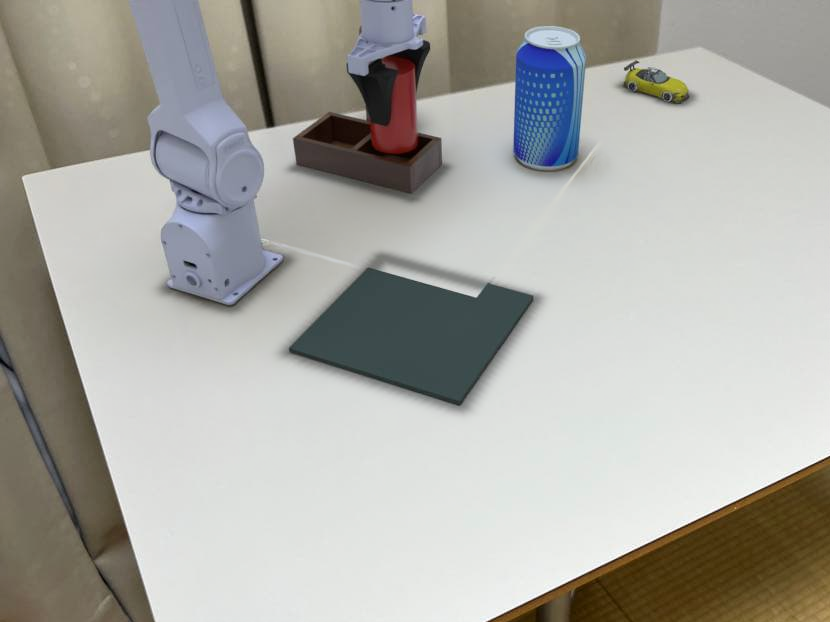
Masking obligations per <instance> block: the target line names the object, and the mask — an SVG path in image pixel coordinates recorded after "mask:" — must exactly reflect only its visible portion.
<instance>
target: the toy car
mask: <svg viewBox="0 0 830 622" xmlns="http://www.w3.org/2000/svg"><path fill="white" fill-rule="evenodd" d="M637 64H640V61H639V60H634V61H632V62H630V63H629V64H627V65H626V66H624V67H623V71H625V72H626V71H627V73H626V75H625V78H624V79H625V80H624V81H623V85H622V86H624V87H626V88H628V90H629V91H630V92H636V91H638V92H641V93H645V94H648V95H651V96H655V97H656V98H657V97H658V98H659V99H662V100H663V101H664V102H667V103H669V102H672V103H674V104H680V103H683V102H684V101H686V100H687V99H688V98H690V94H689V88H688V86H687V85H686V84H685V82H684V81H682V80H680V79H678V78H675V77H672V76H668V74H667V73H666V72H664V71H663V70H661V69H658V68H656V67H649V66H648V67H647V68H637V67H635V65H637Z"/></svg>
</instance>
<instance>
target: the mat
mask: <svg viewBox="0 0 830 622" xmlns="http://www.w3.org/2000/svg"><path fill="white" fill-rule="evenodd" d="M533 301H534V295H533V294H529V293H525V292H523V291H522V292H521V291H519V290H515V289H511V288H507V287H504V286H500V285H497V284H493V283H490V282H489V283H488V282H487V283H486V285H485V286H484V287H483V288H482V290H481V291H480V292H479V294H478V295H477V296H473V295H468V294H465V293H462V292H458V291H454V290H451V289H447V288H444V287H440V286H436V285H433V284H429V283H426V282H422V281H418V280H415V279H412V278H407V277H404V276H400V275H397V274H393V273H389V272H386V271H382V270H379V269H376V268H372V267H367V268H366V269H365V270H363V272H362V273H361V274H360V275H359V276H358V277H356V279H354V281H353V282H352V283H351V284H350V285H349V286H348V287H347V288H346V289H345V290H344V291H343V292H342V293H341V294H340V295H339V296H338V297H336V299H335V300H334V301H333V302H332V303H331V304H330V305H329V306H328V307H327V308H326V309H325V310H324V311H323V312H322V313H321V314H320V315H319V316H318V317H317V318H316V319H315V320H314V321H313V323H311V325H310V326H309V327H308V328H307V329H306V330H304V331H303V332H302V334H301V335H300V336H299V337H297V339H295V340H294V342H293V343H292V344H291V345H290V346H289V347H288V352H289V353H291V354H295V355H299V356H301V357H305V358H309V359H310V360H315V361H318V362H320V363H324V364H327V365H330V366H334V367H337V368H340V369H343V370H347V371H350V372H353V373H357V374H360V375H363V376H366V377H368V378H373V379H376V380H378V381H382V382H385V383H389V384H391V385H394V386H398V387H400V388H403V389H407V390H410V391H413V392H417V393H420V394H424V395H426V396H430V397H432V398H433V397H434V398H437V399H439V400H443V401H445V402H449V403H452V404H454V405H455V404H456V405H461V404H462V402H463V401H464V399H466V396H467V395H468V394H469V393H470V391H471V390H472V388H473V387H474V385H475V384H476V383H477V381H478V380H479V378H480V377H481V375H482V374H483V372H484V371H485V370H486V368H487V367H488V365H489V364H490V362H491V361H492V360H493V358H494V356H495V355H496V353H497V352H498V351H499V349H500V348H501V346H502V345H503V344H504V342H505V341H506V340H507V338H508V336H509V335H510V333H511V332H512V331H513V329H514V327H515V326H516V325H517V323H518V322H519V321H520V319H521V318H522V316H523V315H524V313H525V312H526V311H527V309H528V308H529V307H530V305H531V303H532V302H533Z"/></svg>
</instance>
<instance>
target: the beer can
mask: <svg viewBox="0 0 830 622" xmlns="http://www.w3.org/2000/svg"><path fill="white" fill-rule="evenodd" d="M586 66H587V56H586V53H585V51H584V49H583V47H582V45H581V36H580V34H579V33H577V32H576V31H574V30H572V29H569V28H566V27H563V26H555V25H544V26H536V27H533V28H530V29H528V30H527V31H526V32H525V33H524V39H523V41H522V42H521V44H520V46H519V47H518V48H517V50H516V55H515V79H514V80H515V82H514V83H515V84H514V113H513V114H514V116H513V145H512V147H513V148H512V152H513V154H514V157H516V158H517V160H518V162H520V164H522V165H524V166H526V167H528V168H530V169H534V170H537V171H559V170H562V169H565V168H567V167H569V166H570V165H571V164H572V163H573V162H574V161H575V160H576V159H577V158H578V156H579V150H580V149H579V147H580V138H581V137H580V135H581V124H582V114H583V113H582V111H583V102H584V101H583V100H584V91H585V90H584V89H585V78H586Z"/></svg>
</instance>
